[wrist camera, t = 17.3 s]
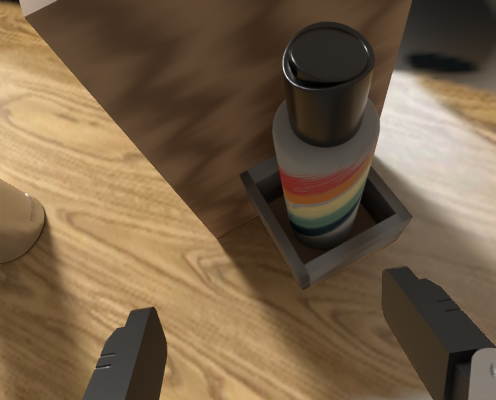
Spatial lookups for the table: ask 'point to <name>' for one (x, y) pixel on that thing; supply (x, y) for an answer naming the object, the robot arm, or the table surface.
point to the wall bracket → (222, 102)
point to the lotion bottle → (325, 131)
